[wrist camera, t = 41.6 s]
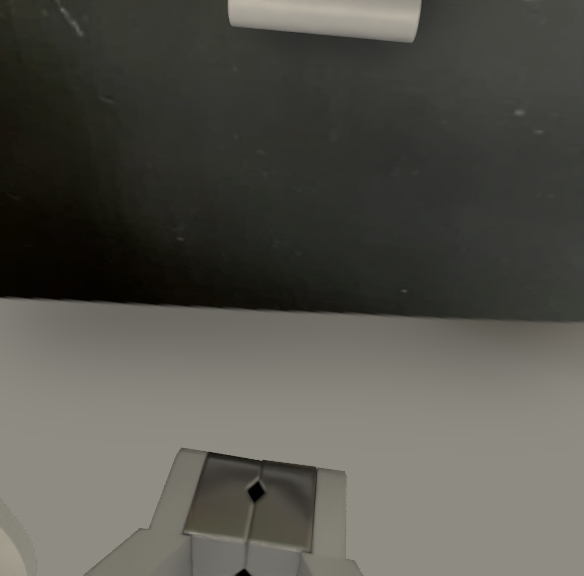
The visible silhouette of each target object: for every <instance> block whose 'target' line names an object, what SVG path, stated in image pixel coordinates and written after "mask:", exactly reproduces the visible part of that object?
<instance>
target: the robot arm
mask: <svg viewBox="0 0 584 576" xmlns="http://www.w3.org/2000/svg"><path fill="white" fill-rule="evenodd" d="M346 478H347V477H346V474H345V472H344V471H338V470H331V469H324V468H317V469H316V467H314V466H305V465H298V464H291V463H283V462H275V461H267V460H263V461H260V460H254V459H248V458H242V457H236V456H231V455H225V454H219V453H213V452H206V451H199V450H193V449H187V448H181V449H180V450H179V452H178V453H177V455H176V457H175V460H174V462H173V465H172V468H171V470H170V473H169V476H168V479H167V481H166V484H165V486H164V489H163V492H162V495H161V497H160V500H159V503H158V505H157V508H156V511H155V513H154V516H153V518H152V521H151V524H150V526H149V529H142V528H140V529H138V530H137V531H136V532H135V533H134V534H132V535H131V536H130V537H129V538H128V539H126V540H125V541H124V542H123V543H122V544H120V545H119V546H118V547H117V548H116V549H114V550H113V551H112V552H111V553H110V554H108V555H107V556H106V557H105V558H104V559H102V560H101V561H100V562H99V563H98V564H96V565H95V566H94V567H93V568H92V569H90V570H89V571H88V572H87V573H85V574H84V575H83V576H363V574H362V572H361V571H360V569H359V568H358V566H357V564H356V562H355V561H354V560H349V559H346Z"/></svg>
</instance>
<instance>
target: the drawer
mask: <svg viewBox="0 0 584 576" xmlns="http://www.w3.org/2000/svg"><path fill="white" fill-rule="evenodd" d="M421 1H422V0H228V15H229V21H230V24H231V25H232V26H235V27H246V28H257V29H267V30H278V31H289V32H300V33H311V34H321V35H332V36H343V37H354V38H365V39H375V40H386V41H397V42H408V43H411V42H413V41H414V39H415V36H416V33H417V28H418V24H419V18H420V12H421Z"/></svg>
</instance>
